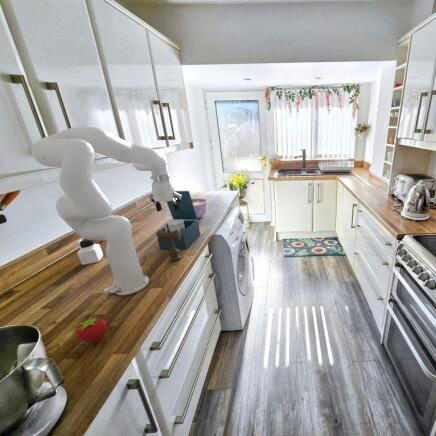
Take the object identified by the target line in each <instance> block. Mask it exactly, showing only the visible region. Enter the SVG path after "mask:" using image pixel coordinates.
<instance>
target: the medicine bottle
mask: <svg viewBox="0 0 436 436" xmlns="http://www.w3.org/2000/svg"><path fill="white" fill-rule="evenodd" d="M77 245H78V247H79V250H78V251H77V252H76V254H77V257H78V259H79V261H80V264H81V265H82V266H85V265H90V264H95V263H99V262H100V261H101V259H102V258H103V257H104V254H103V250H102V248H101V245H100V243H96V242H95V240H87V239H84V238H81V239H79V240H78V241H77Z"/></svg>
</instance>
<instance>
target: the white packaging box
mask: <svg viewBox="0 0 436 436" xmlns="http://www.w3.org/2000/svg"><path fill="white" fill-rule="evenodd" d="M166 223H167V224H168V227H169V230H170V232H173V231H175V230H177V229H180V231H181V232H182V231H183V230H185V226H184V221H183V220H173V219H171V220H170V221H167V222H166ZM166 223H164V224H163V227H165V231H166V232H168V231H167V227H166Z"/></svg>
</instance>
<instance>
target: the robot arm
mask: <svg viewBox="0 0 436 436" xmlns="http://www.w3.org/2000/svg"><path fill="white" fill-rule="evenodd" d="M30 153H31V156H32V158H33V159H34V161H36V162H37V164H40V165H41V166H44V167H49V168H60V172H59V177H58V178H59V179H58V183H59V186H60V188H61V190H62V191H63V193H64V194H62V195H61V196H59V197H58V199H57V200H56V203H55V209H56V212H57V214H58V216H59V217H60V218H61V220H63V221H64V222H65V223H66V224H67V226H69V227H70V228H71V229H72V230H73V231H74V232H75V234H77V235H78V236H79V237H80V238H81V239H83V238H84V239H87V240H94V241H105V242H106V243H107V244H106V246H105V250H104V252H105V256H106V259H107V261H108V264H109V266H110V269H111V272H112V275H113V278H114V280H112V283H113V284H111V285H110V286H108V287H106V288H104V289H102V292H103V293H104V295H108V294H109V293H110V294H114V293H115V295H118V296H129V295H133V294H136V293H138V292H140V291H142V290H143V289H145V288H146V287H147V286H148V285H149V283H150V278H149V276H148V275H145V274H144V273H143V269H142V267H141V263H140V260H139V256H138V253H137V250H136V247H135V244H134V240H133V230H132V229H133V228H132V223H131V221H130V219H128V218H127V217H125V216H122V215H118V214H112V212H113V206H112V204H111V202H110V200H109V199H108V198H107V196H106V195H105V194H104V192H103V191H102V190H101V189H100V187H99V186H98V185H97V183H96V181H95V180H94V178H93V176H92V174H93V173H92V172H93V171H92V170H93V166H94V161H95V158H96V157H95V155H96V154H99V155H102V156H105V157H107V158H110V159H111V160H114V161H116V162H121V163H125V164H132V167H133V168H134V169H136V170H137V171H140V172H150V173H151V176H150V179H151V180H152V182H151V193H150V194H149V195H148V198H149V199H150V201H151V202H152V203H153V205H155V209H156V212H161V211H163V209H162V208H163V207H162V203H161V202H166V201H172V202H173V203H174V209H175V212H177V211H178V210H179V204H178V203H179V201H180V200H181V197H182V195H180V194H178V193H176V192H175V191H176V190H175V186H174V184H173V181H172V180H171V177H170V174H169V168H168V159H167V158H166V155H165V154H164V153H162V152H159V151H158V150H156V149H154V148H151V147H147V146H144V145H140V144H137V143H133V142H129V141H127V140H125V139H123V138H121V137H119V136H116V135H114V134H113V133H110V132H109V131H107V130H106V129H103V128H100V127H97V126H80V127H70V128H67V129H64V130H61V131H59V132H55V133H53V134H49V135H47V136H45V137H42V138H40V139H38V140H36V141H34V143H33V144H32V145H31V148H30ZM176 196H177V197H178V199H176Z"/></svg>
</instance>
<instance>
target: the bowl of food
mask: <svg viewBox="0 0 436 436" xmlns="http://www.w3.org/2000/svg"><path fill="white" fill-rule="evenodd" d="M191 199H192V202H193V205H194V209H195V212H196V215H197V218H198V219H200V218H202V217H203V216H204V215H205V214H206V213H207V208H208V199H206V198H201V197H200V198H198V197H197V198H196V197H195V198H191Z"/></svg>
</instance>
